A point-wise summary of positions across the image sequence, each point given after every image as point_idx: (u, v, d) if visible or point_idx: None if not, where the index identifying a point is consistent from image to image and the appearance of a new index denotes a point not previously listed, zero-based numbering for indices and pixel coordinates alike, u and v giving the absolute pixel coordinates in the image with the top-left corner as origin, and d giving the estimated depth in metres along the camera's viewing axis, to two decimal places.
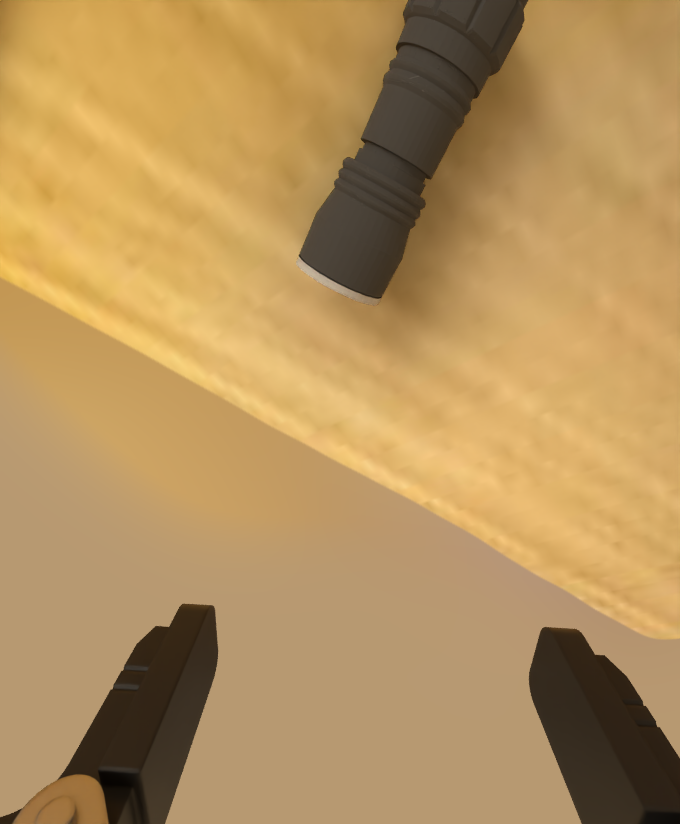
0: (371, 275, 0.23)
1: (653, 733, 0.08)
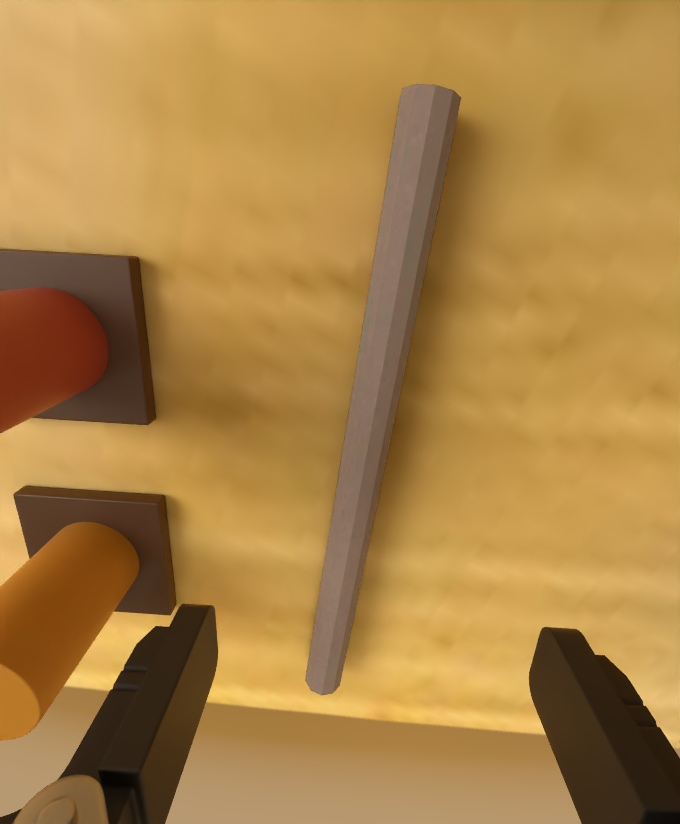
0: None
1: (653, 733, 0.08)
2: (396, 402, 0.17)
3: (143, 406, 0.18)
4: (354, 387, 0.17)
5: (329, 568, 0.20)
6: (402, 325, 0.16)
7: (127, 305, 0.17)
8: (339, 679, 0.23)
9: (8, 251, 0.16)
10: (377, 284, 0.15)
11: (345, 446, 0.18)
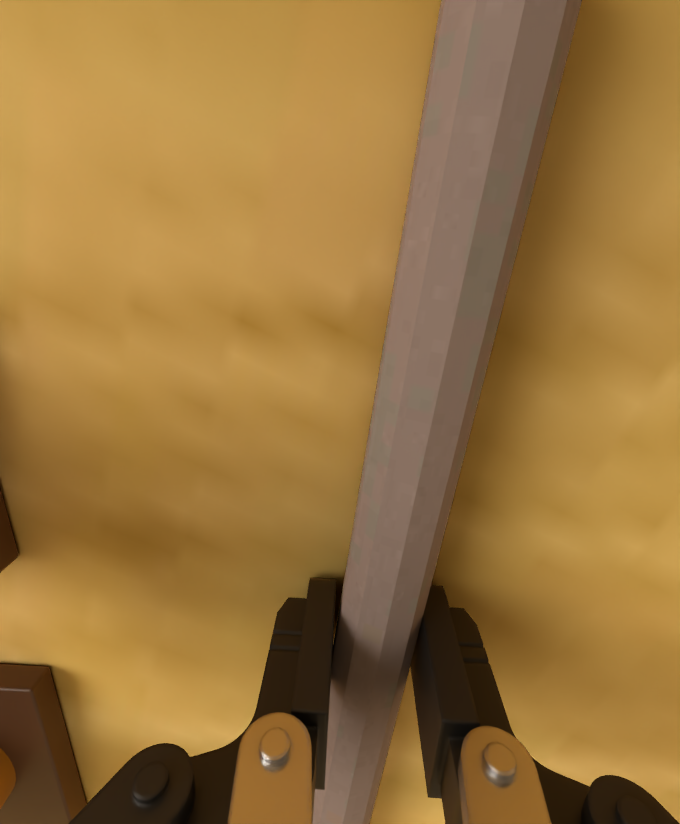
0: None
1: (482, 668, 0.09)
2: (437, 550, 0.09)
3: None
4: (358, 524, 0.09)
5: (319, 798, 0.12)
6: (455, 419, 0.08)
7: None
8: None
9: None
10: (403, 338, 0.07)
11: (343, 620, 0.10)
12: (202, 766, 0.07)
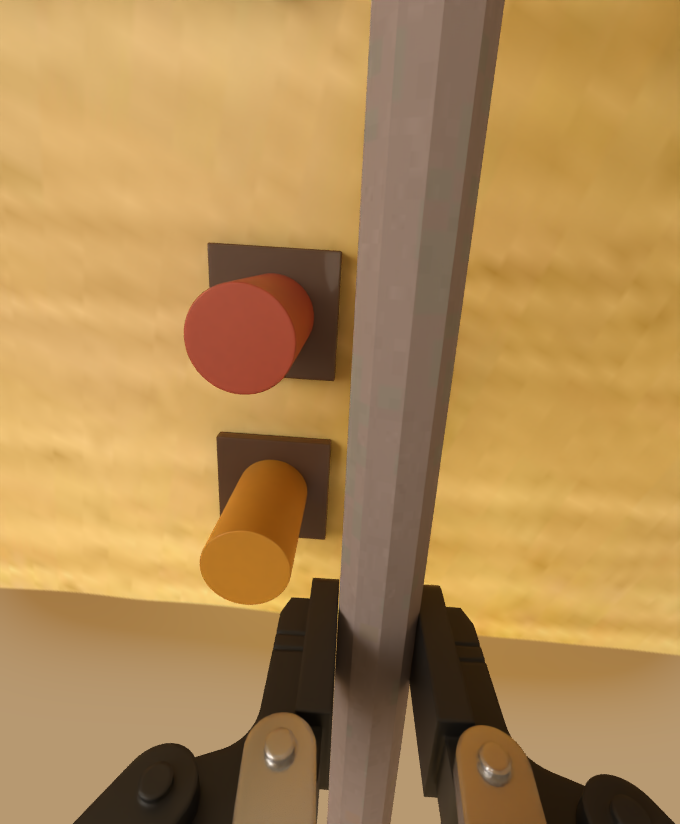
0: None
1: (479, 668, 0.09)
2: (426, 545, 0.09)
3: (333, 365, 0.24)
4: (345, 525, 0.09)
5: (337, 799, 0.12)
6: (426, 415, 0.08)
7: (334, 287, 0.22)
8: None
9: (251, 246, 0.22)
10: (367, 339, 0.07)
11: (341, 620, 0.10)
12: (207, 767, 0.07)
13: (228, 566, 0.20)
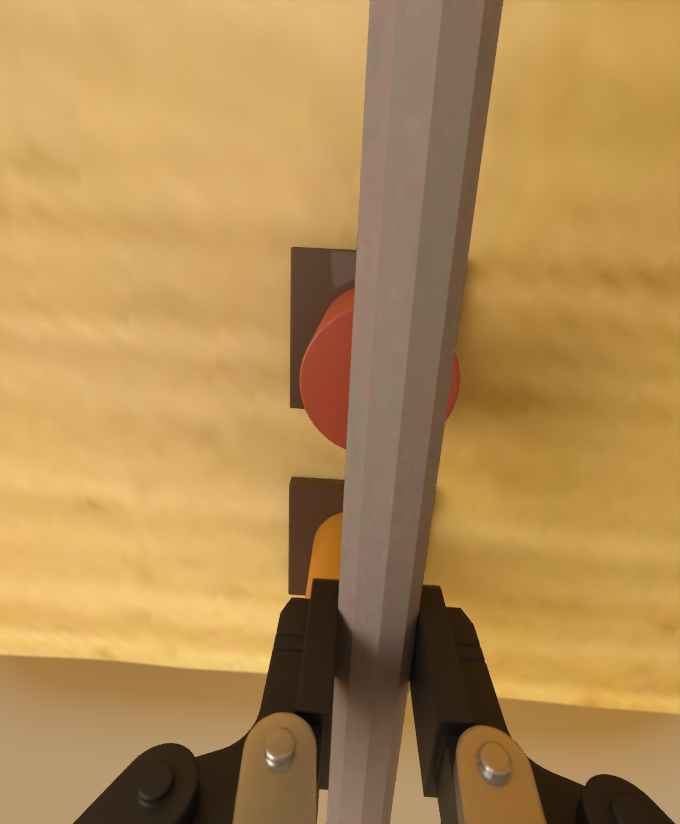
0: None
1: (479, 668, 0.09)
2: (425, 546, 0.09)
3: None
4: (344, 526, 0.09)
5: (336, 799, 0.12)
6: (424, 416, 0.08)
7: None
8: None
9: (348, 251, 0.17)
10: (365, 340, 0.07)
11: (340, 621, 0.10)
12: (207, 766, 0.07)
13: None
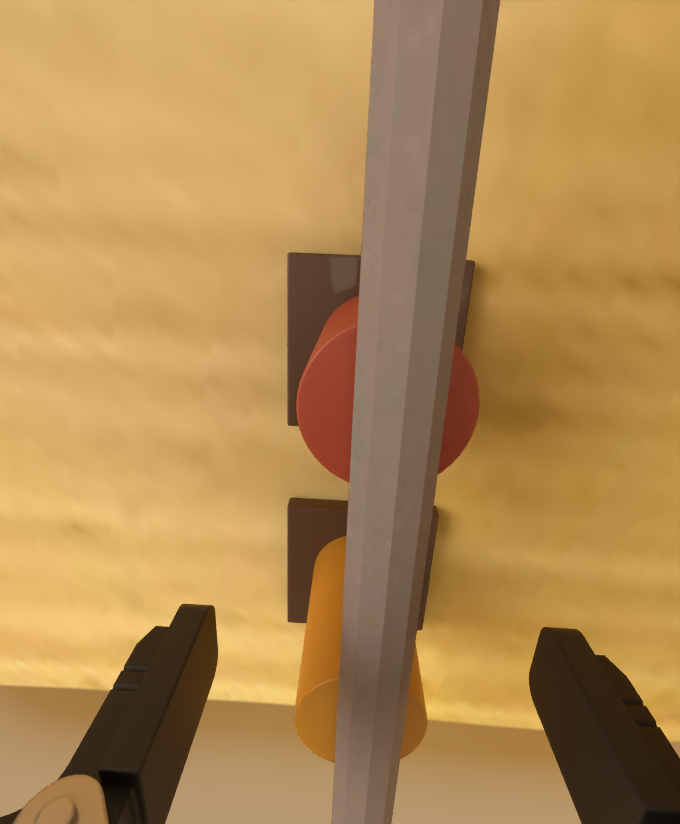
0: None
1: (653, 733, 0.08)
2: (426, 536, 0.10)
3: None
4: (349, 517, 0.10)
5: (342, 783, 0.12)
6: (426, 412, 0.08)
7: (461, 310, 0.16)
8: None
9: (349, 256, 0.16)
10: (370, 341, 0.08)
11: (345, 609, 0.10)
12: None
13: (336, 720, 0.14)
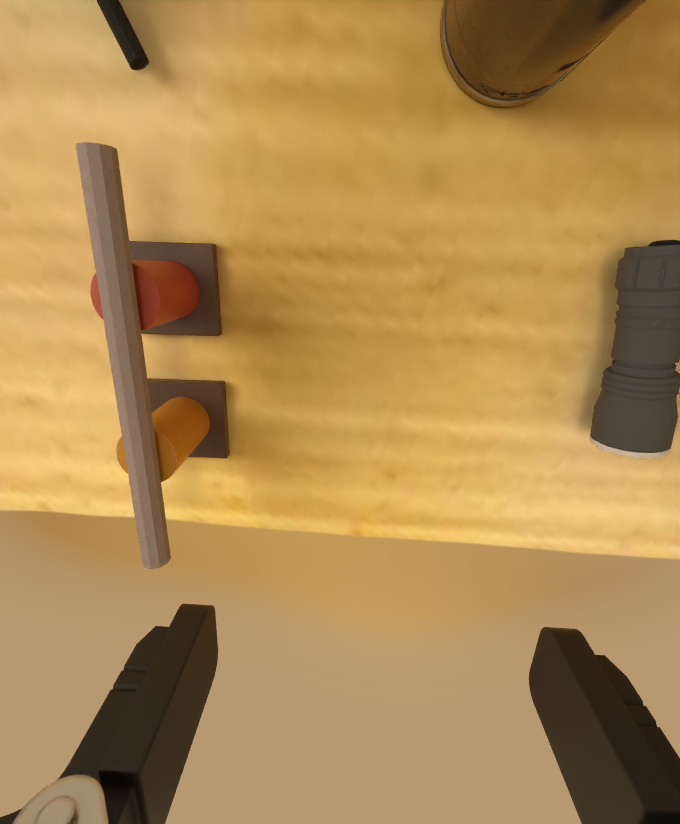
0: (669, 436, 0.32)
1: (653, 733, 0.08)
2: (134, 341, 0.26)
3: (216, 324, 0.34)
4: (106, 334, 0.26)
5: (128, 467, 0.29)
6: (117, 288, 0.25)
7: (211, 268, 0.33)
8: (164, 557, 0.31)
9: (152, 242, 0.32)
10: (95, 264, 0.24)
11: None
12: None
13: None
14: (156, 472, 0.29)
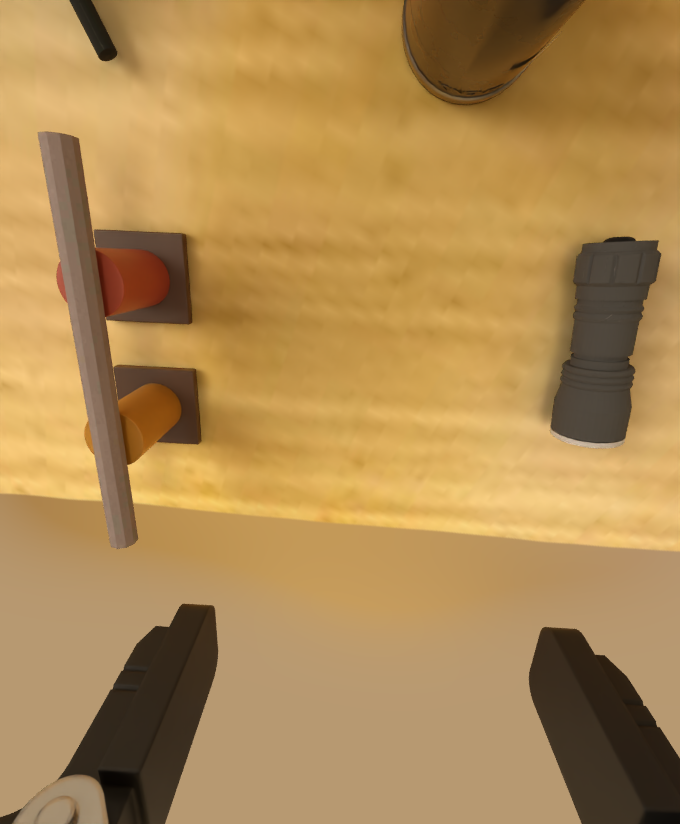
0: (622, 427, 0.33)
1: (653, 733, 0.08)
2: (98, 326, 0.27)
3: (186, 313, 0.35)
4: None
5: (94, 449, 0.30)
6: (79, 274, 0.25)
7: (180, 258, 0.34)
8: (131, 538, 0.32)
9: (122, 231, 0.33)
10: None
11: None
12: None
13: None
14: (122, 454, 0.30)
